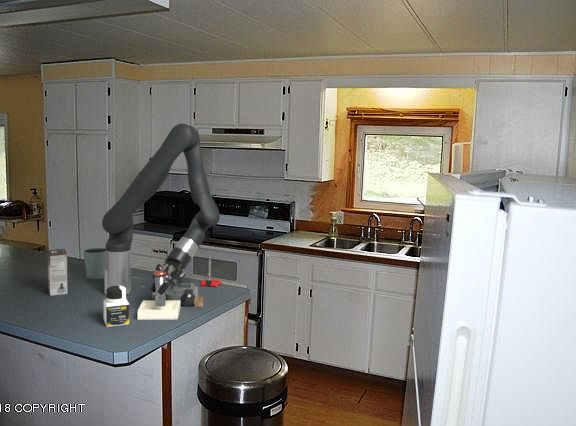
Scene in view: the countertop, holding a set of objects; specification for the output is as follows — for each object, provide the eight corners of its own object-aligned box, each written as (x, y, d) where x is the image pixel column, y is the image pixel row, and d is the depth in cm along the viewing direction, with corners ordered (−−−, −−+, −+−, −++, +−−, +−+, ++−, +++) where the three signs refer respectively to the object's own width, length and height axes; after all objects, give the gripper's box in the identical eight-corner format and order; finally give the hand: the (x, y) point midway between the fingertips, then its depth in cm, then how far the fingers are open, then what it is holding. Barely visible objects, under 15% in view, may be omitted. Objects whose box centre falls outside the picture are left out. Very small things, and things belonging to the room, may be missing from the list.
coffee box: (47, 289, 193) (46, 249, 191) (65, 287, 196) (64, 248, 194) (49, 296, 185) (48, 254, 183) (68, 294, 189) (67, 253, 187)
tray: (137, 319, 165) (137, 310, 164) (143, 308, 176) (143, 300, 175) (177, 319, 166) (177, 310, 166) (180, 308, 178) (180, 300, 177)
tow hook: (205, 281, 216) (198, 285, 207) (206, 252, 215) (199, 255, 206) (223, 282, 215) (217, 287, 206) (225, 253, 214) (219, 257, 204)
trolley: (151, 306, 178) (151, 291, 177) (155, 296, 190) (155, 282, 189) (195, 306, 180) (196, 291, 179) (197, 296, 192) (197, 282, 192)
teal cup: (113, 276, 215) (113, 249, 214) (93, 281, 207) (93, 253, 205) (98, 272, 221) (98, 246, 219) (78, 277, 212) (78, 250, 211)
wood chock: (194, 306, 180) (194, 298, 180) (194, 304, 182) (194, 296, 182) (202, 306, 180) (202, 298, 180) (203, 304, 183) (203, 296, 182)
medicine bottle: (106, 327, 157) (106, 291, 155) (103, 320, 163) (103, 285, 161) (129, 324, 160) (129, 288, 158) (125, 317, 166) (125, 283, 165)
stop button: (153, 307, 168) (153, 273, 167) (154, 303, 172) (154, 270, 171) (165, 306, 169) (165, 273, 167) (167, 303, 173) (167, 270, 171)
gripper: (164, 243, 178) (136, 282, 170) (190, 249, 170) (162, 290, 162) (176, 255, 183) (149, 294, 175) (202, 262, 175) (174, 302, 167)
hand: (155, 292), depth 168 cm, fingers closed on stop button, 3 cm apart
